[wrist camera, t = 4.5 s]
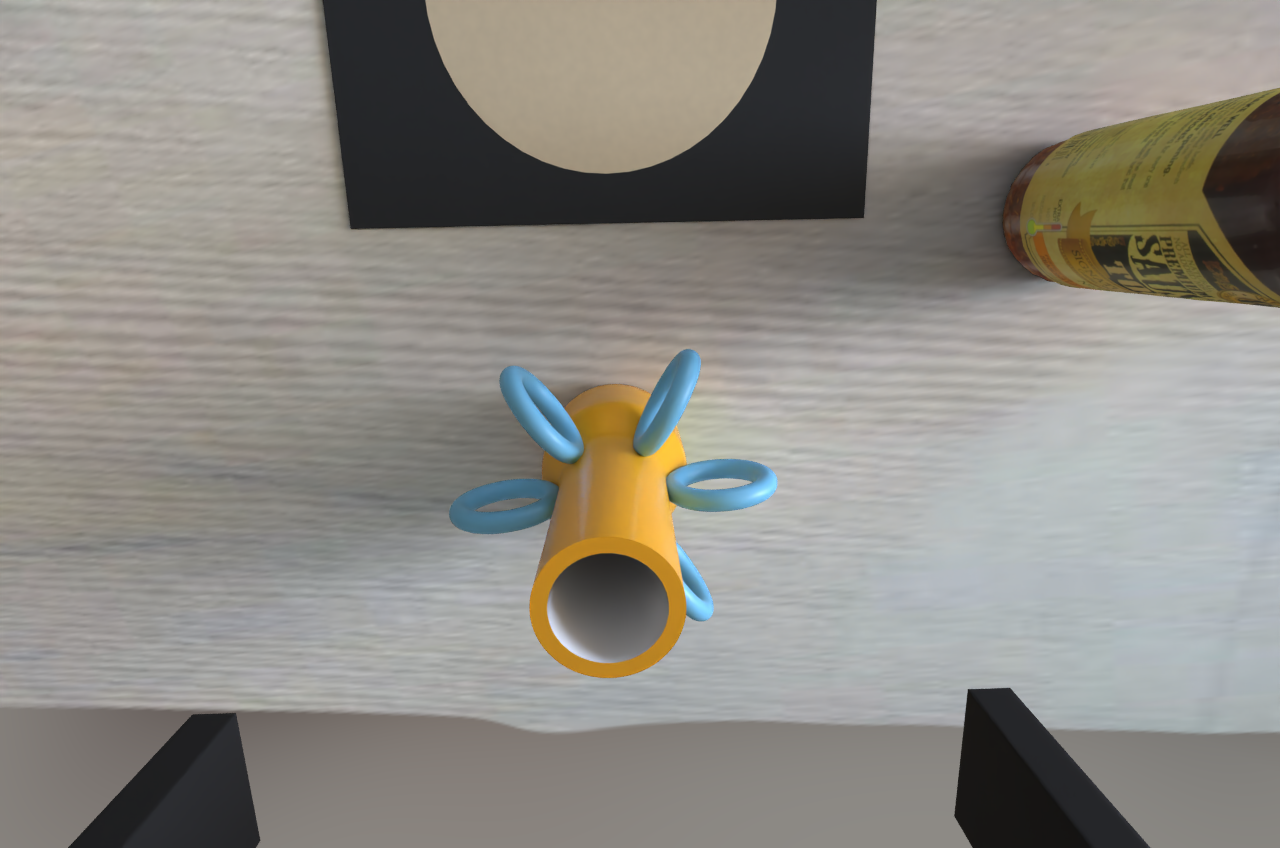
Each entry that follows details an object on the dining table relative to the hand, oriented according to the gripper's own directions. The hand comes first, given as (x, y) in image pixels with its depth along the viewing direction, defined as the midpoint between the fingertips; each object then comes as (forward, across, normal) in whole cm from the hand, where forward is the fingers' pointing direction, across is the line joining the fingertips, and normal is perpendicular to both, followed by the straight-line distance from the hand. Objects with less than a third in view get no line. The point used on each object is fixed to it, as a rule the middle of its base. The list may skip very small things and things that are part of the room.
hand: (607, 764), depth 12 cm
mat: (+20, 0, +19) cm, 28 cm away
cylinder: (+20, 0, 0) cm, 21 cm away
